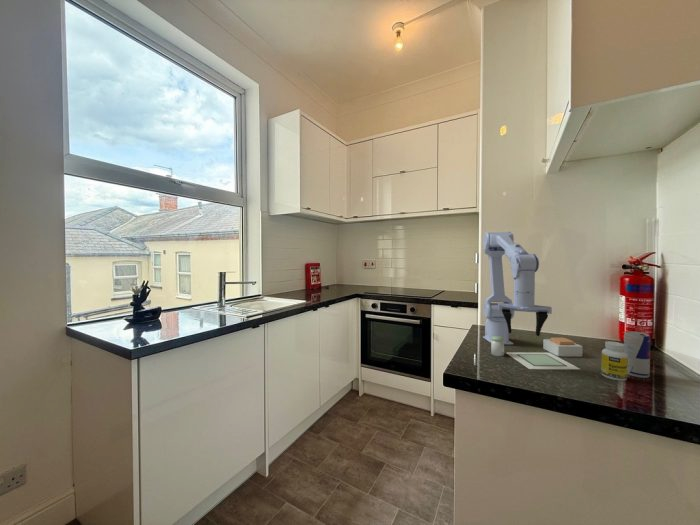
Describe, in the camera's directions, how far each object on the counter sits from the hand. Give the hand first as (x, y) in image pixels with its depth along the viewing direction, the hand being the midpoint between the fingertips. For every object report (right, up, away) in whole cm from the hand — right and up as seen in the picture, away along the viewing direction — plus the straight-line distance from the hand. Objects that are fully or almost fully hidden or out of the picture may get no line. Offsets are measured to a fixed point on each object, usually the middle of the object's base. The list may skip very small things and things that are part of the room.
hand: (523, 333), depth 90 cm
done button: (+20, -7, +10) cm, 23 cm away
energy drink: (+28, -10, -9) cm, 30 cm away
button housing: (+20, -9, +10) cm, 24 cm away
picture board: (+7, -10, +2) cm, 12 cm away
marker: (-4, -10, +9) cm, 13 cm away
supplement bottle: (+19, -10, -10) cm, 24 cm away
